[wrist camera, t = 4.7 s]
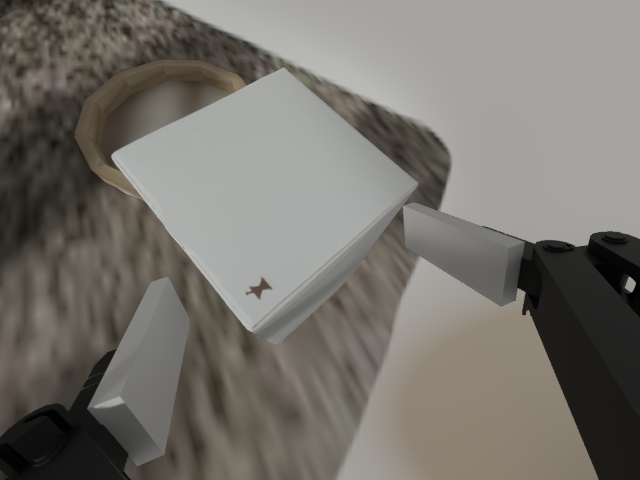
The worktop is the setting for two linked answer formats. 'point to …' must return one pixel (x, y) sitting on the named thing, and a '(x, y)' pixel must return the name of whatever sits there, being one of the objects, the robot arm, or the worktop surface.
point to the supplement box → (268, 198)
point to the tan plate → (145, 108)
